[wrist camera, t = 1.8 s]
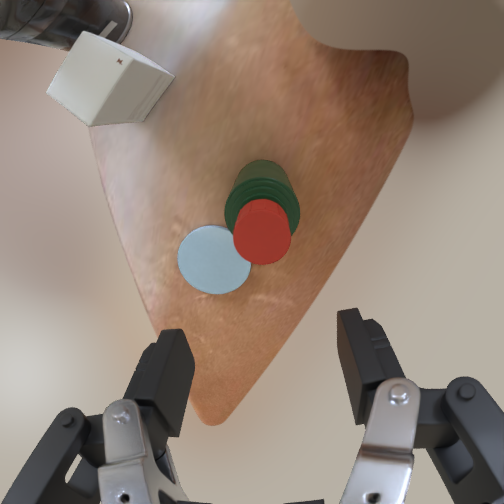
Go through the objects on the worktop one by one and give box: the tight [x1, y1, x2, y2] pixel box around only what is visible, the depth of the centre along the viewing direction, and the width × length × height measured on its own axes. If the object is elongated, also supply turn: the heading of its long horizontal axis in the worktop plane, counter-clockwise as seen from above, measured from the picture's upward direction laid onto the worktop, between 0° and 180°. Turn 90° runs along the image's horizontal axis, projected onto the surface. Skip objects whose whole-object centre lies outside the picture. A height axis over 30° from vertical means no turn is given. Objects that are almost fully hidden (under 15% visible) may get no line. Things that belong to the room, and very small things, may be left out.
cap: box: [233, 199, 291, 265], centre depth 21 cm, size 4×4×3 cm
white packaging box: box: [46, 31, 175, 127], centre depth 25 cm, size 7×7×13 cm
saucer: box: [177, 225, 251, 294], centre depth 40 cm, size 10×10×1 cm
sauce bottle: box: [225, 160, 300, 236], centre depth 28 cm, size 6×6×17 cm
